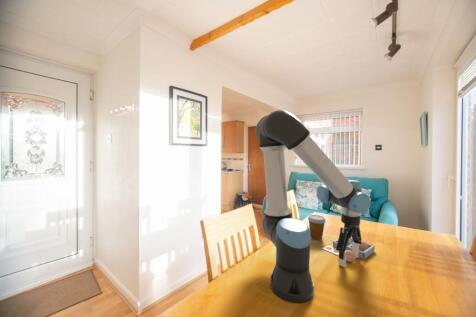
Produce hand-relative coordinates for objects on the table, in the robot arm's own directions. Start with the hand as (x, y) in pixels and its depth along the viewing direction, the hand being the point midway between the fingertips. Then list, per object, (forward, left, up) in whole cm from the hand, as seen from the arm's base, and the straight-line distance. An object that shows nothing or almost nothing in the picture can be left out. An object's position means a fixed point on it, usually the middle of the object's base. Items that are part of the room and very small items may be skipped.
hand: (348, 261), depth 91 cm
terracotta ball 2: (+16, +1, 0) cm, 17 cm away
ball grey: (+14, +8, 0) cm, 16 cm away
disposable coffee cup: (+11, +23, 0) cm, 25 cm away
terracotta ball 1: (0, 0, 0) cm, 0 cm away
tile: (+4, +10, 0) cm, 10 cm away
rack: (+14, +4, 0) cm, 15 cm away
